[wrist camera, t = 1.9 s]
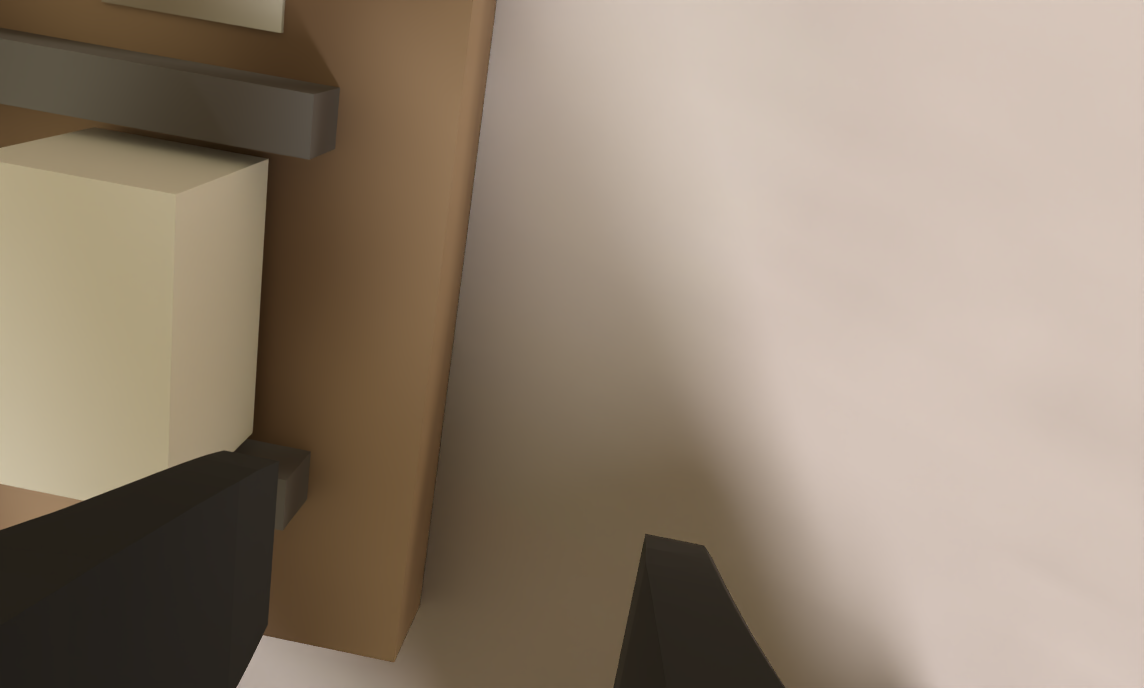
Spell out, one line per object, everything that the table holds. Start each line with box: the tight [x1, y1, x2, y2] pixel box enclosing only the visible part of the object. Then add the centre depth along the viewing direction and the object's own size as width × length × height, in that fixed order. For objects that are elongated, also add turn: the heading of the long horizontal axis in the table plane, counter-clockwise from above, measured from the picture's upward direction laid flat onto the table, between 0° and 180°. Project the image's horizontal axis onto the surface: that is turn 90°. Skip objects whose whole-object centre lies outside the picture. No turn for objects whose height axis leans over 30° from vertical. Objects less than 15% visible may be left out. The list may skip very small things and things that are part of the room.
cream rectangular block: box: [0, 127, 269, 501], centre depth 16 cm, size 3×5×3 cm, turn 171°
